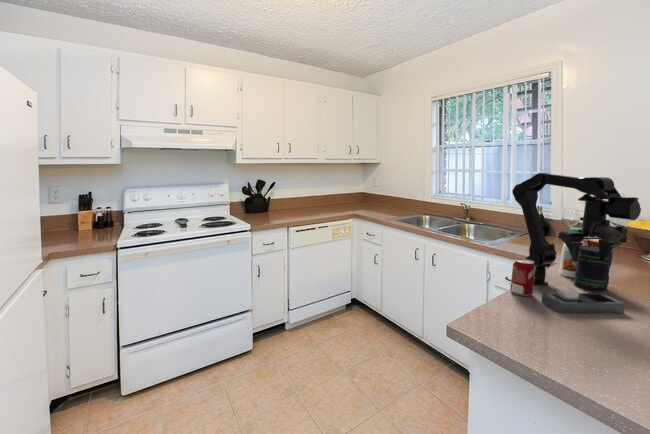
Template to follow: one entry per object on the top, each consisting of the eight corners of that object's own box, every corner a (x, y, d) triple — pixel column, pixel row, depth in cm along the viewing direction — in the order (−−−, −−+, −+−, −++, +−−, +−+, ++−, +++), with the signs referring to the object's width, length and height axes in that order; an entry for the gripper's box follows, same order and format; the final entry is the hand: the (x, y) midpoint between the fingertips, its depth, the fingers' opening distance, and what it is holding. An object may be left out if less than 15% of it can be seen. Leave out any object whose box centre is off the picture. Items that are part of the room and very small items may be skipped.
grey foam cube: (564, 307, 98) (566, 292, 97) (554, 302, 102) (556, 287, 101) (576, 307, 98) (579, 292, 98) (567, 302, 102) (568, 287, 101)
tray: (541, 302, 104) (542, 293, 104) (600, 302, 104) (602, 293, 104) (559, 313, 96) (561, 303, 96) (623, 313, 97) (625, 303, 96)
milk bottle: (554, 273, 134) (560, 227, 131) (567, 271, 136) (573, 226, 133) (573, 279, 126) (579, 230, 123) (587, 277, 129) (593, 229, 126)
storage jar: (615, 292, 113) (621, 252, 111) (587, 292, 113) (593, 251, 111) (592, 282, 123) (597, 245, 121) (566, 282, 123) (571, 245, 121)
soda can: (521, 298, 107) (525, 264, 106) (505, 290, 114) (508, 258, 112) (537, 296, 109) (541, 262, 107) (520, 289, 116) (524, 257, 114)
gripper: (587, 219, 95) (580, 268, 98) (647, 219, 96) (639, 269, 98) (559, 214, 106) (554, 258, 109) (614, 214, 107) (607, 258, 109)
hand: (588, 261), depth 106 cm, fingers open, 9 cm apart
